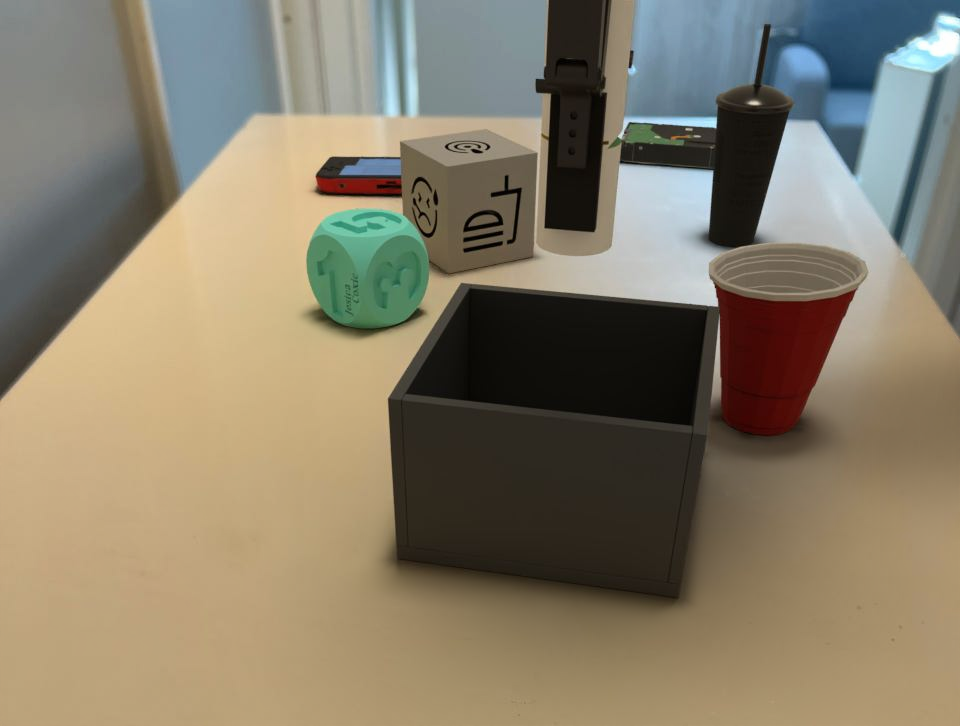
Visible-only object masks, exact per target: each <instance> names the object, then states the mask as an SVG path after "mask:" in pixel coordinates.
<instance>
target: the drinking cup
mask: <svg viewBox="0 0 960 726" xmlns="http://www.w3.org/2000/svg"><path fill="white" fill-rule="evenodd" d="M771 30H772V24H771V23H764V24H763V30H762V34H761V39H760V40H761V41H760V47H759V53H758V58H757V64H756V66H757V67H756V71H755V76H754V83H749V84H747V83H746V84H741V85H738V86H735V87H733V88H730V89H729V90H726V91H724V92H721V93H719V94H717V95H716V96H715V105H716V106H717V110H716V112H717V113H716V126H715V128H716V138H715V153H714V167H713V168H712V170H713V171H712V183H711V197H710V210H709V211H710V212H709V224H708V226H709V227H708V239H709V241H710V242H712V243H714V244H717V245H719V246H725V247H732V248H733V247H735V248H739V247H743V246H750V245H753V243H754V241H755V237H756V235H757V231H758V226H759V223H760V219H761V215H762V212H763V208H764V205H765V202H766V197H767V195H768V190H769V186H770V184H771V180H772V176H773V172H774V169H775V165H776V162H777V158H778V155H779V151H780V148H781V143H782V141H783V137H784V134H785V130H786V125H787V122H788V118H789V116H790V112H791V111H792V110H793V109H794V106H795V100H794V99H793V98H792V97H791V96H788V95H786V94H785V93H784V92H783V91H781V90H780V89H777V88H776V87H773V86H770V85H767V84H762V83H763V82H762V81H763V76H764V70H765V64H766V58H767V53H768V46H769V42H770V35H771Z"/></svg>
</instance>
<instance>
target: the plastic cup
mask: <svg viewBox="0 0 960 726" xmlns="http://www.w3.org/2000/svg"><path fill="white" fill-rule="evenodd" d="M866 263H867V262H866V261H865V260H863V259H862V258H860V257H858V256H856V255H855V254H854V253H852V252H850V251H846V250H842V249H838V248H835V247H832V246H828V245H823V244H812V243H803V242H764V243H757V244H750V245H747V246H740V247H735V248H732V249H730V250H727V251H724V252H721V253H719V254H718V255H717V256H715V257H714V258H713V259H711V261H708V276H709V280H710V281H712V284H713V285H714V290H715V298H716V299H717V307H720V314H719V377H720V379H721V380H720V410H721V417H722V419H723V420H724V421H725V423H726V424H727V425H729V426H731V427H732V428H734V429H736V430H738V431H741V432H744V433H747V434H752V435H761V436H773V435H781V434H783V433H786V432H789V431H791V430H792V429H793V428H795V425H796V424H797V422H798V420H799V419H800V418H801V416H802V414H803V412H804V409H805V407H806V405H807V402H808V400H809V397H810V395H811V393H812V390H813V389H814V387H816V384H817V382H818V380H819V377H820V375H821V372H822V370H823V368H824V365H825V363H826V360H827V358H828V356H829V353H830V351H831V348H832V345H833V344H834V341H835V340H836V336H837V335H838V331H839V330H840V327H841V324H842V322H843V319H844V318H846V315H847V313H848V310H849V307H850V305H851V303H852V301H853V300H854V297H855V294H856V292H857V291H858V290H859V287H860V286H861V285H862V284H863V282H864V281H865V280H866V279H867V276H868V275H869V269H868V266H867V264H866Z"/></svg>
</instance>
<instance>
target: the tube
mask: <svg viewBox="0 0 960 726" xmlns="http://www.w3.org/2000/svg"><path fill="white" fill-rule="evenodd" d="M635 3H636V0H612V2H611V13H610V23H609V33H608V43H607V53H606V63H605V73H604V75H605V77H606V86H605V89H603V91H602V92H606V93H607V101H606V114H605V126H604V138H603V150H602V163H601V175H600V187H599V199H598V212H597V224H596V230H595V232H582V231H570V230H558V229H546V228H544V224H545V203H546V183H547V162H548V141H549V121H550V100H551V94H543V93H542V102H541V106H542V108H541V125H540V126H541V128H540V130H541V131H540V132H541V133H540V145H539V146H540V147H539V148H540V149H539V169H538V170H539V171H538V193H537V195H538V197H537V216H536V236H535V239H536V241H535V242H536V243H535V244H536V245H537V247H539V248H540V249H542V250H543V251H544V252H545V251H546V252H548V253H551V254H555V255H560V256H567V257H568V256H569V257H588V256H589V257H590V256H594V255H599V254H602V253H605V252H607V251H609V250H610V249H611V248H612V247H613V239H614V238H613V237H614V228H615V227H614V226H615V216H616V207H617V194H618V185H619V173H620V163H621V160H620V153H621V143H622V142H621V137H619V136H620V134H621V133H622V131H624V123H625V122H624V120H625V110H626V99H627V89H628V88H627V87H628V79H629V69H630V68H629V58H630V50H631V47H632V36H633V23H634V14H635ZM548 4H549V0H546V13H545V14H546V16H545V37H544V39H545V40H544V57H543V58H544V59H543V60H544V61H543V68H544V67H545V66H546V52H547V28H548ZM566 59H574V58H566ZM543 79H545V78H544V77H543Z"/></svg>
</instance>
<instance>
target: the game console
mask: <svg viewBox="0 0 960 726" xmlns="http://www.w3.org/2000/svg"><path fill="white" fill-rule="evenodd" d="M315 179H316V180H315V181H316V183H317V187H318V189H319V190H320V191H322V192H323V193H325V194H332V195H402V181H401V157H400V156H336V155H335V156H330V157H329V158H328V159H327V160H326V161H325V163H324V164H322V166H321V167H320V168H319V169H318V171H317V172H316V174H315Z"/></svg>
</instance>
